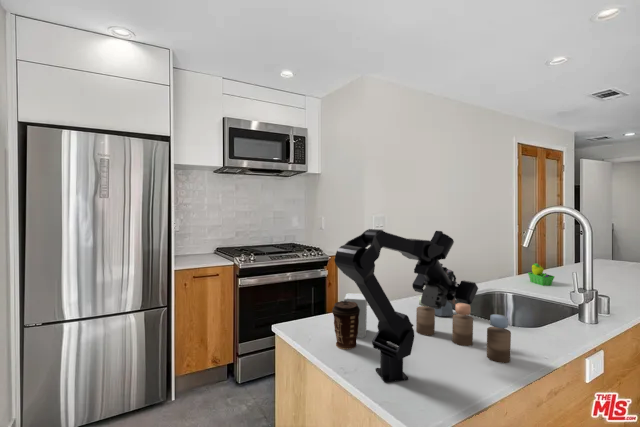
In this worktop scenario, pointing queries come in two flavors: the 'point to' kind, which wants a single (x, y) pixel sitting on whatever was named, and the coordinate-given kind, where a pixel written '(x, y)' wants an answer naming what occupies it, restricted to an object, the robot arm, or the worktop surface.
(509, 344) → the button stands
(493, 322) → the slate-blue button
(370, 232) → the robot arm
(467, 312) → the terracotta button
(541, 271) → the fruit basket
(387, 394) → the worktop surface
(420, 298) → the sage button
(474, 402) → the worktop surface
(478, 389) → the worktop surface
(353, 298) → the supplement box
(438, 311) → the moka pot
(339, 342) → the coffee cup
